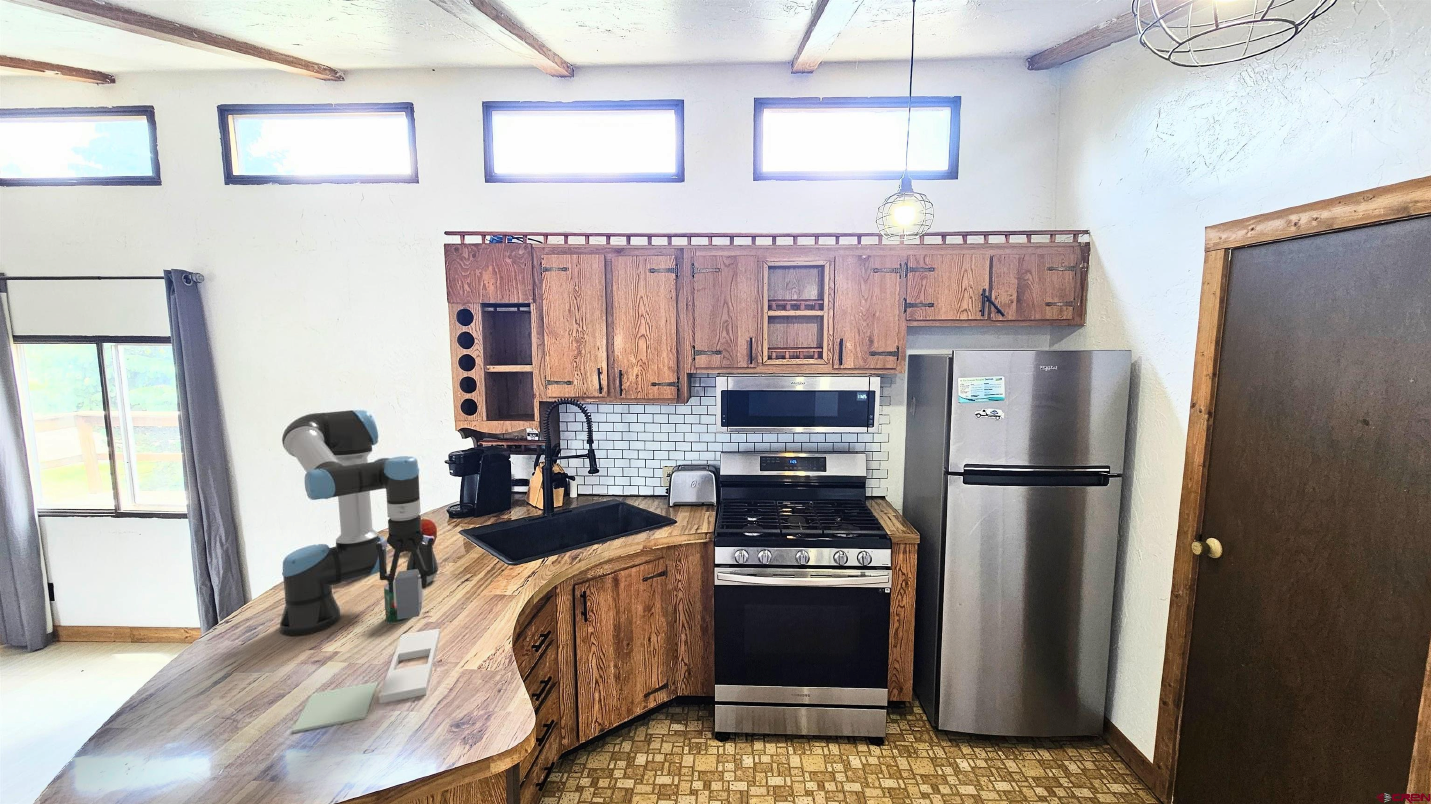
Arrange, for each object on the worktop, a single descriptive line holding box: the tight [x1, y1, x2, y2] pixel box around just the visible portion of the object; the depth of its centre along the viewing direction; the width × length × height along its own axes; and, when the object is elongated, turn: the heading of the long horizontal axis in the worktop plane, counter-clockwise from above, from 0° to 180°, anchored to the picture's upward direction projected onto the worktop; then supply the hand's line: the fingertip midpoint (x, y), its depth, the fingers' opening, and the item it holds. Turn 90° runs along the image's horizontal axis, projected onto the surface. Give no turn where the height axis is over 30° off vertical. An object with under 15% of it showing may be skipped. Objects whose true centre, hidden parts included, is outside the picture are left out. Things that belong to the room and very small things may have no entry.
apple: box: [421, 518, 438, 546], centre depth 232 cm, size 10×10×14 cm
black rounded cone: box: [405, 541, 439, 584], centre depth 201 cm, size 10×10×15 cm
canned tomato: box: [383, 582, 414, 625], centre depth 175 cm, size 8×8×11 cm
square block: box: [395, 569, 423, 620], centre depth 147 cm, size 5×5×11 cm
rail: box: [378, 628, 441, 704], centre depth 149 cm, size 10×30×2 cm, turn 20°
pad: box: [291, 681, 379, 734], centre depth 132 cm, size 14×14×1 cm
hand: (409, 601), depth 148 cm, fingers closed on square block, 5 cm apart
